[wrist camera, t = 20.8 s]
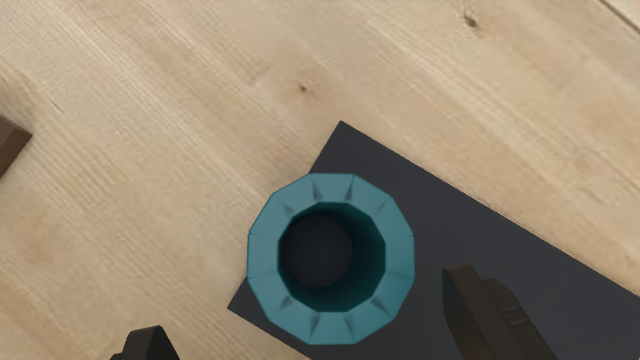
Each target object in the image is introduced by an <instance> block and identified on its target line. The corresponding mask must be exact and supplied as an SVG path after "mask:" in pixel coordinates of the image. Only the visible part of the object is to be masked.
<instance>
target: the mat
mask: <svg viewBox="0 0 640 360" xmlns="http://www.w3.org/2000/svg"><path fill="white" fill-rule="evenodd" d="M309 173H348V174H354V175H357V176H359V177H361V178H362V179H364V180H366V181H367V182H369V183H371V184H372V185H374V186H376V187H377V188H379V189H381V190H382V191H384V192H386V193H387V194H389V195H390V196H391V197H393V199H394V200H395V202H396V204H397V206H398V207H399V209H400V211H401V212H402V214H403V216H404V218H405V219H406V221H407V223H408V224H409V226H410V228H411V230H412V231H413V236H414V255H415V278H414V283H413V285H412V287H411V288H410V290H409V292H408V294H407V296H406V298H405V300H404V302H403V303H402V305H401V307H400V309H399V311H398V313H397V315H396V317H395V318H394V319H393V320H392V321H391V322H390V323H388V324H387V325H385V326H383V327H382V328H380V329H378V330H377V331H375V332H374V333H372V334H370V335H369V336H367V337H366V338H364V339H362V340H361V341H359V342H357V343H354V344H330V345H310V344H309V343H308V344H307V343H305V342H303V341H302V340H300V339H298V338H297V337H295V336H293V335H292V334H290V333H288V332H287V331H285V330H283V329H282V328H280V327H278V326H277V325H275V324H273V323H272V322H270V321H269V319H268V318H267V317H266V315H265V313H264V311H263V309H262V308H261V306H260V304H259V302H258V300H257V298H256V296H255V294H254V293H253V291H252V289H251V287H250V285H249V283H248V281H247V279H248V278H247V277H246V278H245V279H244V281H243V283H242V284H241V286H240V288H239V289H238V291H237V292H236V294H235V296H234V297H233V299H232V301H231V302H230V304H229V306H228V307H227V309H229V310H230V311H232V312H234V313H235V314H237V315H239V316H240V317H242V318H244V319H245V320H247V321H249V322H250V323H252V324H254V325H255V326H257V327H259V328H260V329H262V330H264V331H265V332H267V333H269V334H270V335H272V336H274V337H275V338H277V339H279V340H280V341H282V342H284V343H285V344H287V345H289V346H290V347H292V348H294V349H295V350H297V351H299V352H300V353H302V354H304V355H305V356H307V357H309V358H310V359H312V360H463V358H462V355H461V353H460V351H459V349H458V347H457V345H456V342H455V340H454V338H453V336H452V334H451V331H450V329H449V327H448V324H447V322H446V318H445V315H444V310H443V295H442V269H443V268H446V267H451V266H456V265H461V264H466V263H470V264H471V265H472V266H473V267H474V269H475V270H476V272H477V274H478V275H479V277H480V278H481V280H486V279H491V278H495V279H496V280H497V281H499V282H500V283H502V284H503V285H504V286H506V287H507V288H508V289H510V290H511V291H512V293H513V294H514V296H515V297H516V299H517V300H518V302H519V303H520V305H521V306H522V309H523V310H525V312H526V313H527V315H528V316H529V318H530V319H531V323H533V324H534V325H535V327H536V328H537V330H538V331H539V333H540V334H541V336H542V337H543V338H544V340H545V341H546V343H547V344H548V346H549V347H550V349H551V350H552V352H553V353H554V355H555V356H556V358H557V359H558V360H639V358H640V297H638V296H637V295H635V294H633V293H632V292H630V291H628V290H626V289H625V288H623V287H621V286H620V285H618V284H616V283H615V282H613V281H611V280H610V279H608V278H606V277H605V276H603V275H601V274H599V273H598V272H596V271H594V270H593V269H591V268H589V267H588V266H586V265H584V264H583V263H581V262H579V261H578V260H576V259H574V258H572V257H571V256H569V255H567V254H566V253H564V252H562V251H561V250H559V249H557V248H556V247H554V246H552V245H551V244H549V243H547V242H545V241H544V240H542V239H540V238H539V237H537V236H535V235H534V234H532V233H530V232H529V231H527V230H525V229H524V228H522V227H520V226H518V225H517V224H515V223H513V222H512V221H510V220H508V219H507V218H505V217H503V216H502V215H500V214H498V213H496V212H495V211H493V210H491V209H490V208H488V207H486V206H485V205H483V204H481V203H480V202H478V201H476V200H475V199H473V198H471V197H469V196H468V195H466V194H464V193H463V192H461V191H459V190H458V189H456V188H454V187H453V186H451V185H449V184H448V183H446V182H444V181H442V180H441V179H439V178H437V177H436V176H434V175H432V174H431V173H429V172H427V171H426V170H424V169H422V168H421V167H419V166H417V165H415V164H414V163H412V162H410V161H409V160H407V159H405V158H404V157H402V156H400V155H399V154H397V153H395V152H394V151H392V150H390V149H388V148H387V147H385V146H383V145H382V144H380V143H378V142H377V141H375V140H373V139H372V138H370V137H368V136H367V135H365V134H363V133H361V132H360V131H358V130H356V129H355V128H353V127H351V126H350V125H348V124H346V123H345V122H343V121H340V122H339V124H338V125H337V127H336V129H335V130H334V132H333V134H332V135H331V137H330V138H329V140H328V142H327V143H326V145H325V147H324V148H323V150H322V152H321V153H320V155H319V157H318V158H317V160H316V162H315V163H314V165H313V167H312V168H311V170H310V172H309ZM309 173H308V174H309ZM282 261H283V263H284V265H285V267H286V269H287V270H288V272H289V274H290V276H291V277H292V278H294V279H295V280H297V281H299V282H300V283H302V284H304V285H305V286H307V287H327V286H329V285H331V284H332V283H334V282H336V281H337V280H339V279H341V278H342V277H343V276H344V274H345V273H346V271H347V269H348V267H349V266H350V264H351V262H352V240H351V239H350V237H349V235H348V233H347V232H346V230H345V228H344V226H343V225H342V224H340V223H338V222H337V221H335V220H333V219H332V218H330V217H328V216H307V217H305V218H303V219H301V220H300V221H298V222H296V223H294V224H293V225H292V226H291V227H290V229H289V231H288V232H287V234H286V236H285V237H284V239H283V241H282Z"/></svg>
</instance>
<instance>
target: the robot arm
mask: <svg viewBox="0 0 640 360" xmlns="http://www.w3.org/2000/svg"><path fill="white" fill-rule="evenodd" d="M442 295H443V310H444V315H445V318H446V322H447V324H448V327H449V329H450V331H451V334H452V336H453V338H454V340H455V342H456V345H457V347H458V349H459V351H460V353H461V355H462V358H463V360H558V359H557V358H556V356H555V355H554V353H553V352H552V350H551V349H550V347H549V346H548V344H547V343H546V341H545V340H544V338H543V337H542V336H541V334H540V333H539V331H538V330H537V328H536V327H535V325H534V324H533V323H531V319H530V318H529V316H528V315H527V313H526V312H525V310H523V309H522V306H521V305H520V303H519V302H518V300H517V299H516V297H515V296H514V294H513V293H512V291H511V290H510V289H508V288H507V287H506V286H504V285H503V284H502V283H500V282H499V281H497V280H496V279H495V278H491V279H486V280H481V278H480V277H479V275H478V274H477V272H476V270H475V269H474V267H473V266H472V265H471V264H470V263H466V264H461V265H456V266H451V267H446V268H443V269H442ZM110 360H180V358H179V356H178V355H177V353H176V351H175V349H174V347H173V345H172V344H171V342H170V340H169V338H168V336H167V335H166V333H165V331H164V329H163V328H162V327H161V326H160V325H158V326H153V327H148V328H143V329H138V330H133V331H131V332H130V333H129V335H128V337H127V340H126V342H125V345H124V348H123V351H122V353H119V354H114V355H113V356H112V357H111V359H110Z"/></svg>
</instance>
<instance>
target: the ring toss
mask: <svg viewBox="0 0 640 360" xmlns="http://www.w3.org/2000/svg"><path fill="white" fill-rule="evenodd" d="M31 136H32V134H31V133H29V132H27V131H26V130H24V129H22V128H21V127H19V126H17V125H16V124H14V123H12V122H11V121H9V120H7V119H6V118H4V117H2V116H1V115H0V178H1V177H2V175H3V174H4V173H5V171H6V170H7V169H8V167H9V166H10V164H11V163H12V162H13V160H14V159H15V158H16V156H17V155H18V154H19V152H20V151H21V150H22V148H23V147H24V146H25V144H26V143H27V142H28V140H29V139H30V137H31Z"/></svg>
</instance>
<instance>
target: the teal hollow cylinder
mask: <svg viewBox="0 0 640 360" xmlns="http://www.w3.org/2000/svg"><path fill="white" fill-rule="evenodd" d="M307 216H328V217H330V218H332V219H333V220H335V221H337V222H338V223H340V224H342V225H343V226H344V228H345V230H346V232H347V233H348V235H349V237H350V239H351V240H352V262H351V264H350V266H349V267H348V269H347V271H346V273H345V274H344V276H343V277H342V278H341V279H339V280H337V281H336V282H334V283H332V284H331V285H329V286H327V287H307V286H305V285H304V284H302V283H300V282H299V281H297V280H295V279H294V278H292V277H291V276H290V274H289V272H288V270H287V269H286V267H285V265H284V263H283V261H282V241H283V239H284V237H285V236H286V234H287V232H288V231H289V229H290V227H291V226H292V225H293V224H294V223H296V222H298V221H300V220H301V219H303V218H305V217H307ZM246 277H247V278H248V279H247V281H248V283H249V285H250V287H251V289H252V291H253V293H254V294H255V296H256V298H257V300H258V302H259V304H260V306H261V308H262V309H263V311H264V313H265V315H266V317H267V318H268V319H269V321H270V322H272V323H273V324H275V325H277V326H278V327H280V328H282V329H283V330H285V331H287V332H288V333H290V334H292V335H293V336H295V337H297V338H298V339H300V340H302V341H303V342H305V343H307V344H308V343H309V344H310V345H330V344H354V343H357V342H359V341H361V340H362V339H364V338H366V337H367V336H369V335H370V334H372V333H374V332H375V331H377V330H378V329H380V328H382V327H383V326H385V325H387V324H388V323H390V322H391V321H392V320H393V319H394V318H395V317H396V315H397V313H398V311H399V309H400V307H401V305H402V303H403V302H404V300H405V298H406V296H407V294H408V292H409V290H410V288H411V287H412V285H413V283H414V278H415V255H414V236H413V231H412V230H411V228H410V226H409V224H408V223H407V221H406V219H405V218H404V216H403V214H402V212H401V211H400V209H399V207H398V206H397V204H396V202H395V200H394V199H393V197H391V196H390V195H389V194H387V193H386V192H384V191H382V190H381V189H379V188H377V187H376V186H374V185H372V184H371V183H369V182H367V181H366V180H364V179H362V178H361V177H359V176H357V175H354V174H348V173H309V174H307V175H305V176H303V177H302V178H300V179H298V180H296V181H294V182H292V183H291V184H289V185H287V186H285V187H283V188H281V189H280V190H278V191H276V192H274V193H273V194H272V195H271V196H270V198H269V199H268V201H267V202H266V204H265V206H264V207H263V209H262V211H261V212H260V214H259V215H258V217H257V219H256V220H255V222H254V223H253V225H252V227H251V228H250V230H249V234H248V244H247V274H246Z"/></svg>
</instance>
